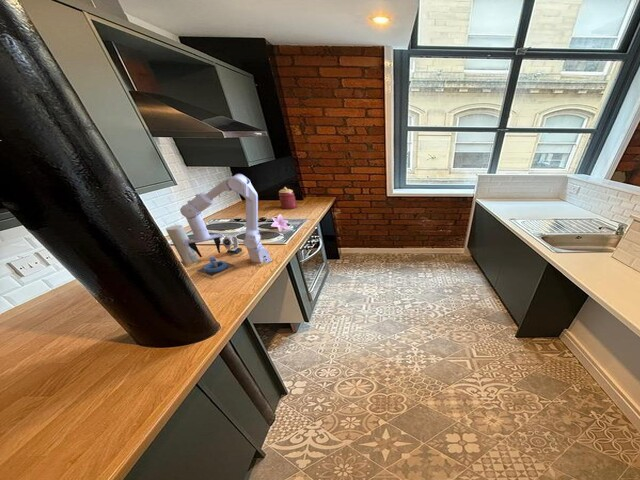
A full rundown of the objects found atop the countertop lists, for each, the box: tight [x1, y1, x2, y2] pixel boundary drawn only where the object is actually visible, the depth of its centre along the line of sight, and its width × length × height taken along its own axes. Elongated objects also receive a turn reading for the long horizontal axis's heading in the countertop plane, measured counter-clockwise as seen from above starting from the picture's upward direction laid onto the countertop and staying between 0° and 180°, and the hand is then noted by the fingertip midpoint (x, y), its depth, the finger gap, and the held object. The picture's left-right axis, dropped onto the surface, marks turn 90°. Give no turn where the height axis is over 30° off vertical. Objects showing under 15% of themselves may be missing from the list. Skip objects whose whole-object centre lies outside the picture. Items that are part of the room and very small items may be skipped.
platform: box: [196, 260, 237, 277], centre depth 123 cm, size 12×12×5 cm
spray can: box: [165, 224, 199, 265], centre depth 125 cm, size 6×6×20 cm
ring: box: [203, 256, 227, 272], centre depth 124 cm, size 12×9×3 cm
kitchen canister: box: [278, 186, 298, 210], centre depth 218 cm, size 13×13×18 cm
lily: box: [270, 213, 290, 233], centre depth 173 cm, size 12×12×10 cm
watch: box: [222, 235, 243, 255], centre depth 137 cm, size 6×8×11 cm
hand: (210, 254), depth 124 cm, fingers open, 7 cm apart
